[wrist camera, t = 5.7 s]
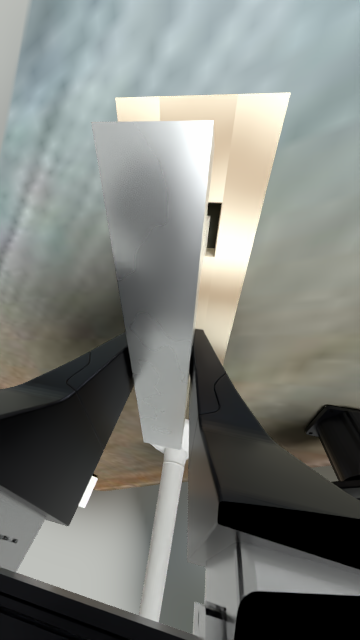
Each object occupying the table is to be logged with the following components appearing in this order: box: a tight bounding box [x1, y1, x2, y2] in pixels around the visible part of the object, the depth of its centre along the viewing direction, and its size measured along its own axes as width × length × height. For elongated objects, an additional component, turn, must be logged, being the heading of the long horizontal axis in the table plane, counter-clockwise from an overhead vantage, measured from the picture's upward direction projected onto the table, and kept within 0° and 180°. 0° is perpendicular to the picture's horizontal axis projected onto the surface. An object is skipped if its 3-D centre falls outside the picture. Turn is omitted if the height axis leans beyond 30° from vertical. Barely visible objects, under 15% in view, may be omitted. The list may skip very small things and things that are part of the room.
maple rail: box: [115, 93, 290, 365], centre depth 15 cm, size 20×8×3 cm, turn 178°
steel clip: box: [91, 120, 214, 450], centre depth 10 cm, size 14×2×6 cm, turn 178°
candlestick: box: [139, 419, 189, 622], centre depth 20 cm, size 13×13×30 cm
